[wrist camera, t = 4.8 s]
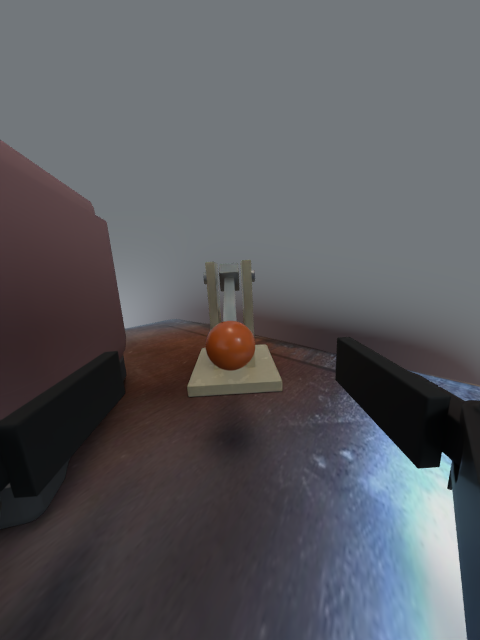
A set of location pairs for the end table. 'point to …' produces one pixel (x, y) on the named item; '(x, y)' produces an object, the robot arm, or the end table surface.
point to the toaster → (49, 298)
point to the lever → (230, 328)
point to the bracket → (261, 366)
